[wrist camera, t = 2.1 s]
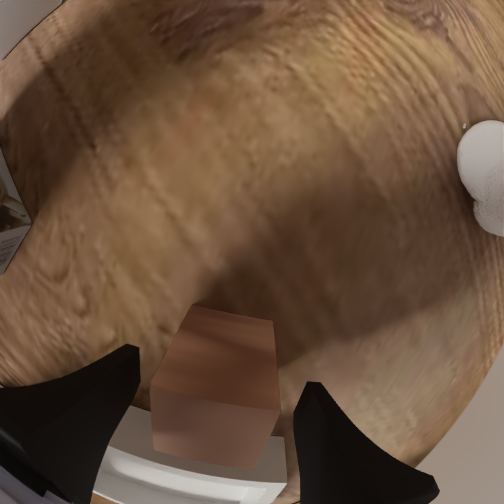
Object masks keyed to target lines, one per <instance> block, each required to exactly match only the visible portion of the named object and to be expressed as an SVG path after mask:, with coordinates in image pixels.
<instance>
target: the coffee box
mask: <svg viewBox="0 0 504 504" xmlns="http://www.w3.org/2000/svg"><path fill="white" fill-rule="evenodd" d="M30 227H31V219H30V217H29V215H28V213H27V211H26V209H25V207H24V205H23V203H22V201H21V198H20V196H19V194H18V192H17V189H16V187H15V185H14V182H13V180H12V177H11V175H10V172H9V170H8V167H7V165H6V162H5V159H4V156H3V154H2V151H1V148H0V276H1V275H3V273H4V271H5V269H6V268H7V266H8V264H9V262H10V260H11V258H12V257H13V255H14V253H15V252H16V250H17V248H18V246H19V245H20V243H21V241H22V240H23V238H24V237H25V235H26V233H27V232H28V230H29V229H30Z"/></svg>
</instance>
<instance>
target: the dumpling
mask: <svg viewBox="0 0 504 504" xmlns="http://www.w3.org/2000/svg"><path fill="white" fill-rule="evenodd" d="M463 128H466V124H463ZM457 166H458V172H459V175H460V178H461V181H462V183H463V184H464V186H465V187H466V189H467V191H468V193H470V194H471V197H473V198H474V199H475V201H473V203H474V208H473V212H474V216H475V219H476V220H477V221H478V223H479V225H480V226H481V227H482V228H483V229H484V230H485V231H487V232H490V233H492V234H495V235H498V236H503V237H504V123H502V122H500V121H496V120H495V121H494V120H487V121H482V122H480V123H478V124H475V125H474V126H472V127H471V128H470V129H469V130H468V131H467V132H466V133H465V134H464V135H463V137H462V139H461V140H460V142H459V145H458V149H457Z"/></svg>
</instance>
